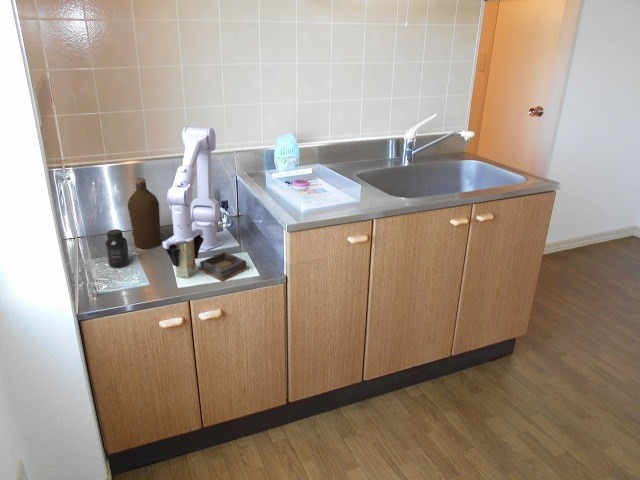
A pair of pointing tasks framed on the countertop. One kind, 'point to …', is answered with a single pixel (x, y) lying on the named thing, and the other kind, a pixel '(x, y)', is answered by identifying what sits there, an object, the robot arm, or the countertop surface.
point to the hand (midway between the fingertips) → (185, 261)
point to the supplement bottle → (117, 249)
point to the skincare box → (186, 259)
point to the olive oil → (144, 217)
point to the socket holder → (223, 266)
